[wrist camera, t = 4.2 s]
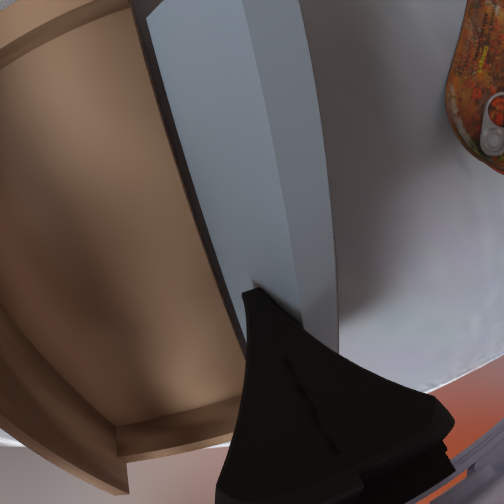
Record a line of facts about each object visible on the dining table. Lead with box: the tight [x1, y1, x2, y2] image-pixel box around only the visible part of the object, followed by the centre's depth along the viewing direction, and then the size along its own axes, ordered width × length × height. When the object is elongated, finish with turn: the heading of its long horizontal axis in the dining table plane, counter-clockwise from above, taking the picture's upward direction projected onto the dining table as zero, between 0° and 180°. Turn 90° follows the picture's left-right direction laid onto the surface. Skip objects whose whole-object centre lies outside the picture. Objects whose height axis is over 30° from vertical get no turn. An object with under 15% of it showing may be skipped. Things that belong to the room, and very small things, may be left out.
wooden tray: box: [0, 0, 246, 495], centre depth 12 cm, size 12×24×7 cm, turn 12°
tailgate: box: [146, 0, 339, 354], centre depth 12 cm, size 2×20×6 cm, turn 12°
